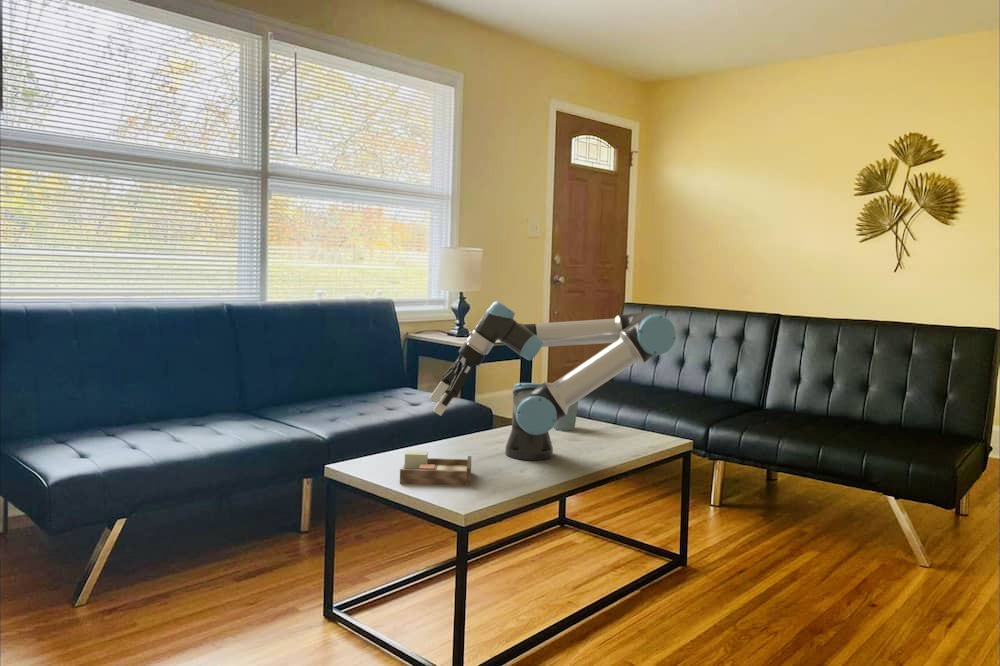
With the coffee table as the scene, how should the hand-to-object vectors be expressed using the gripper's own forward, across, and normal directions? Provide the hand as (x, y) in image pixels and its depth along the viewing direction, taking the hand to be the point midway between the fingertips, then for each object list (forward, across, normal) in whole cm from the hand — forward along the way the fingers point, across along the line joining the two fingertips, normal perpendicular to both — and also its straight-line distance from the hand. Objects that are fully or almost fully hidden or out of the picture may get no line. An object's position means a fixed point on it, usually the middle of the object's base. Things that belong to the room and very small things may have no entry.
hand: (434, 406), depth 230 cm
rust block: (+15, +20, +6) cm, 25 cm away
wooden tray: (+14, +17, +8) cm, 23 cm away
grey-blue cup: (-10, -45, +56) cm, 72 cm away
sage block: (+15, +14, +2) cm, 20 cm away
